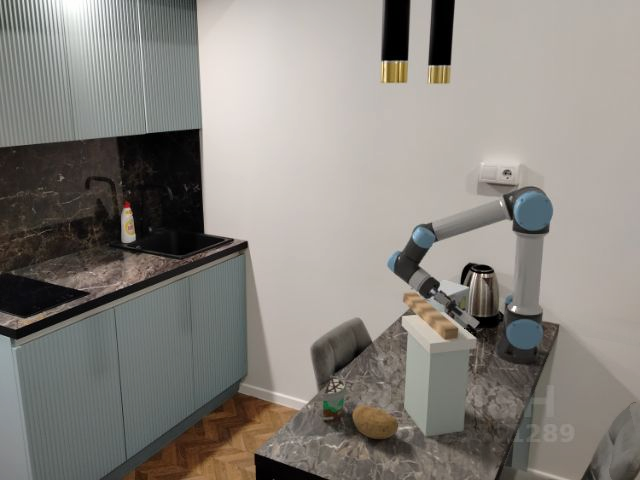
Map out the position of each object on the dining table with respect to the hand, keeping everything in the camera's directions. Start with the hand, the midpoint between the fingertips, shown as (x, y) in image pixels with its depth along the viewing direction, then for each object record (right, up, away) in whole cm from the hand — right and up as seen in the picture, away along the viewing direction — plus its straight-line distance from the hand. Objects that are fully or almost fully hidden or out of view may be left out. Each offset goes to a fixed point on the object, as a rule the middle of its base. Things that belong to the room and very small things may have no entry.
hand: (473, 323), depth 198 cm
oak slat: (-18, +4, -18) cm, 26 cm away
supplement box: (0, -9, +49) cm, 50 cm away
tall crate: (-17, -26, -16) cm, 35 cm away
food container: (-46, -26, -15) cm, 55 cm away
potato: (-35, -29, -25) cm, 52 cm away
